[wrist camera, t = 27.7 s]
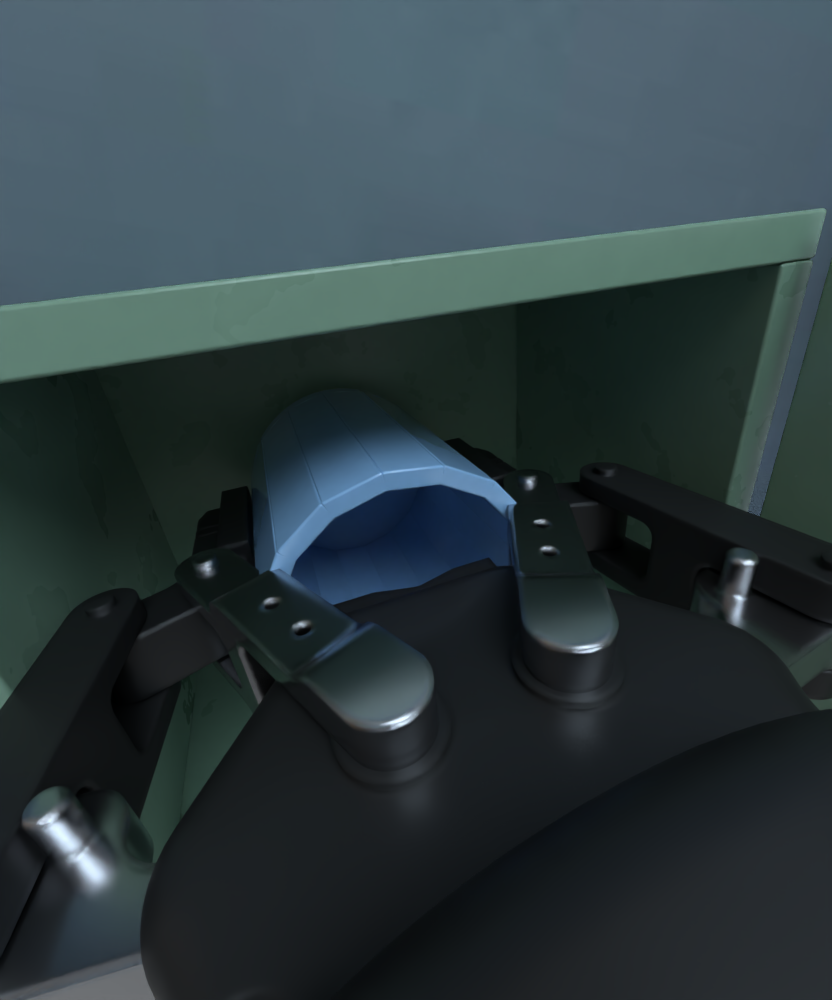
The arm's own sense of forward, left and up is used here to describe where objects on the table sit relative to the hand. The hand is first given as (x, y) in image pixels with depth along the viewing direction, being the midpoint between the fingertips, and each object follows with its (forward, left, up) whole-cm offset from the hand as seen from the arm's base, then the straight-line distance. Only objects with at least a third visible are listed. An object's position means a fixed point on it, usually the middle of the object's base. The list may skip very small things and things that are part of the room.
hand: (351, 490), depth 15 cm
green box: (+1, 0, -4) cm, 4 cm away
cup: (0, 0, -1) cm, 1 cm away
